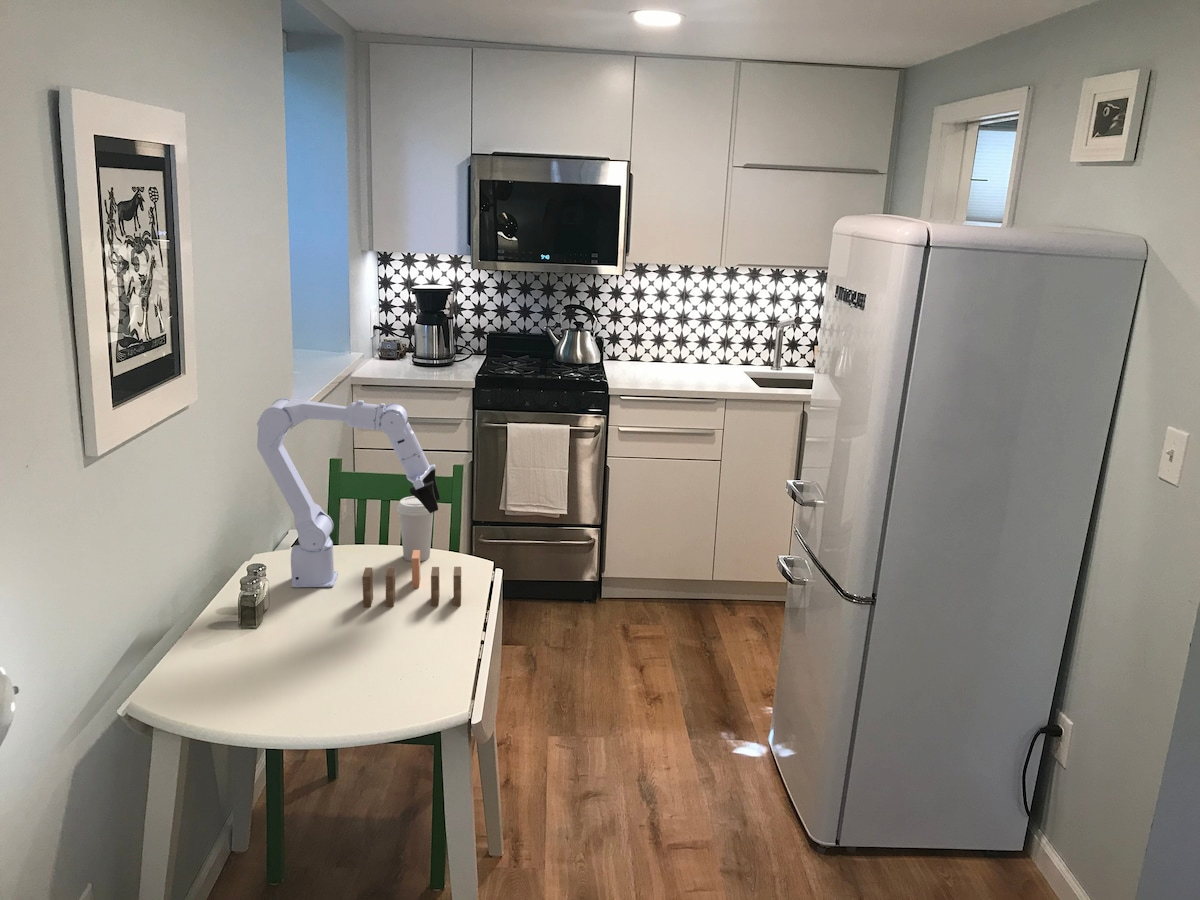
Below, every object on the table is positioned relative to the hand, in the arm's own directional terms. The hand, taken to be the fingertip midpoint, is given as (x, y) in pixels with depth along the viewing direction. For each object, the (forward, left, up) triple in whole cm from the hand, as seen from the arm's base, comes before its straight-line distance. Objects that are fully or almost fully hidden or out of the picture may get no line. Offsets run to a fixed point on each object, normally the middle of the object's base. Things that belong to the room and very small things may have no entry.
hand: (435, 505), depth 219 cm
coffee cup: (-6, +15, -20) cm, 25 cm away
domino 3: (-5, -1, -19) cm, 20 cm away
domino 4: (0, -11, -19) cm, 22 cm away
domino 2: (-10, -11, -19) cm, 24 cm away
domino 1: (-15, -11, -19) cm, 27 cm away
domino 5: (+5, -11, -19) cm, 23 cm away
